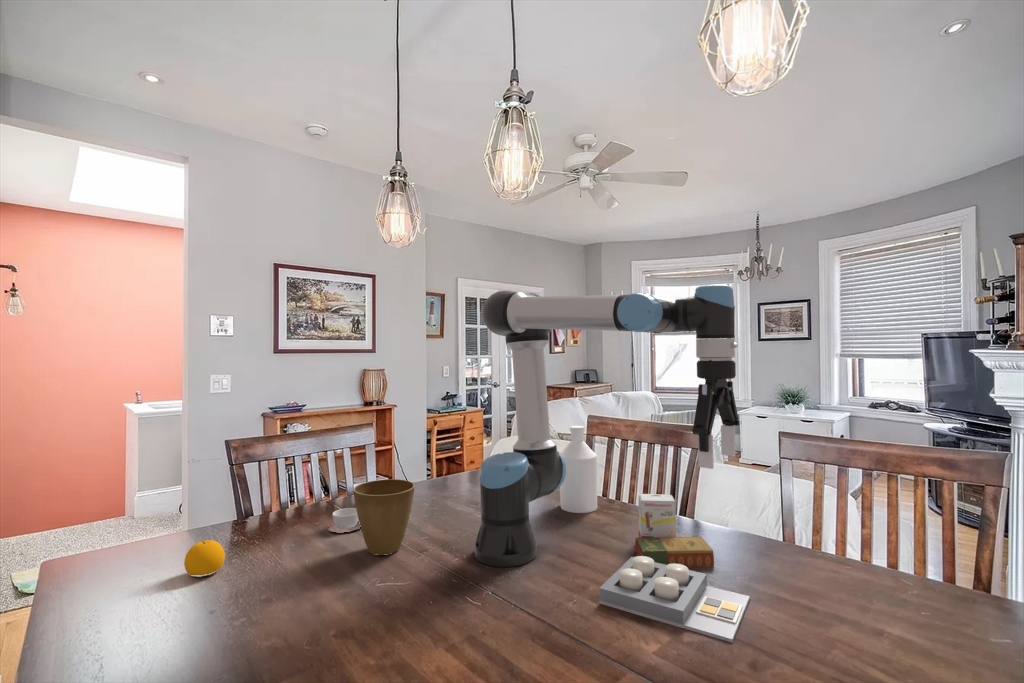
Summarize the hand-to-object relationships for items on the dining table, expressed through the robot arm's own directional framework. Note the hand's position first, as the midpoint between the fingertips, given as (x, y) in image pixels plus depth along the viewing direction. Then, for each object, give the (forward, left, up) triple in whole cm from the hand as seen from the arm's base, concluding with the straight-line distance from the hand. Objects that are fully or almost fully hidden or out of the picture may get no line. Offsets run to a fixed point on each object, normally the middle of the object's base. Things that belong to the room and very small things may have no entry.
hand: (717, 461), depth 104 cm
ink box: (-18, +14, -26) cm, 34 cm away
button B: (-13, -8, -23) cm, 28 cm away
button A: (-13, -16, -23) cm, 31 cm away
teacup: (-96, -20, -26) cm, 101 cm away
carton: (-12, +7, -26) cm, 30 cm away
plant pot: (-74, -25, -26) cm, 82 cm away
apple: (-99, -56, -26) cm, 117 cm away
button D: (-6, -8, -23) cm, 25 cm away
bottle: (-48, +30, -26) cm, 62 cm away
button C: (-6, -16, -23) cm, 29 cm away
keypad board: (-6, -12, -26) cm, 29 cm away
